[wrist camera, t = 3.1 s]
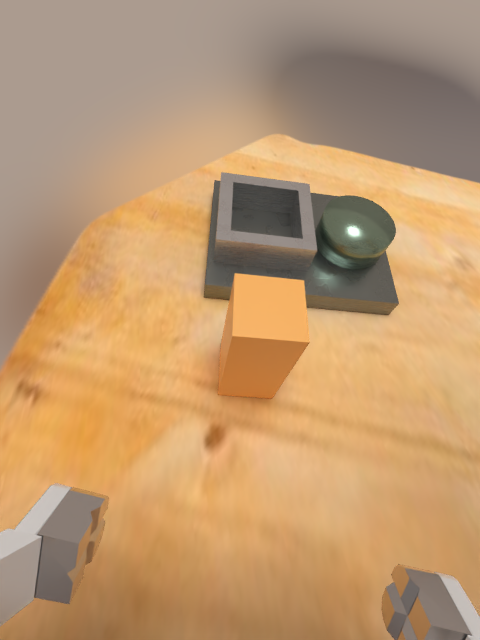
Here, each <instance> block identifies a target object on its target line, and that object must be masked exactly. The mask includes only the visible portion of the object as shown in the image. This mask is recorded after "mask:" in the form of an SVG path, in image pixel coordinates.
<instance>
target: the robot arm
mask: <svg viewBox="0 0 480 640" xmlns="http://www.w3.org/2000/svg"><path fill="white" fill-rule="evenodd" d="M108 502H109V497H108V496H105V495H101V494H97V493H94V492H90V491H86V490H82V489H78V488H75V487H73V488H72V487H69V486H65V485H61V484H58V483H55V484H53V485H51V486H50V487H49V488H48V489H47V491H46V492H45V493H44V494H43V495H42V497H41V498H40V499H39V500H38V501H37V503H36V504H35V505H34V506H33V507H32V509H31V510H30V511H29V512H28V513H27V515H26V516H25V517H24V518H23V519H22V521H21V522H20V523H19V524H18V525H17V527H16V528H15V529H14V530H13V529H6V530H4V531H2V532H0V626H1V625H3V624H4V623H5V622H6V621H8V620H9V619H10V618H12V617H13V616H14V615H15V614H17V613H18V612H19V611H20V610H22V609H23V608H24V607H25V606H27V605H28V604H29V603H31V602H32V601H33V600H34V598H40V599H45V600H50V601H55V602H60V603H65V604H70V602H71V600H72V598H73V596H74V594H75V593H76V591H77V589H78V587H79V585H80V583H81V581H82V579H83V575H84V569H85V565H87V564H88V563H90V562H91V561H92V559H93V557H94V555H95V553H96V551H97V548H98V546H99V543H100V541H101V538H102V534H103V530H104V526H105V521H104V519H103V516H104V514H105V512H106V510H107V509H108ZM391 575H392V578H393V581H394V582H393V583H392V584H390V585H389V586H387V587H386V588H385V591H384V594H383V597H382V614H383V620H384V623H385V626H386V629H387V631H388V632H389V633H390V634H391V636H392V637H393V638H394V639H395V640H480V617H479V615H478V613H477V612H476V610H475V608H474V607H473V605H472V603H471V602H470V600H469V598H468V597H467V595H466V593H465V592H464V590H463V588H462V587H461V585H460V583H459V582H458V580H457V579H455V578H454V577H453V576H451V575H446V574H442V573H437V572H431V571H427V570H423V569H418V568H414V567H409V566H405V565H400V564H398V565H397V566H396V567H394V570H393V572H392V574H391Z"/></svg>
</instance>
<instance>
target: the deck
mask: <svg viewBox="0 0 480 640" xmlns="http://www.w3.org/2000/svg"><path fill="white" fill-rule="evenodd" d="M395 233H396V228H395V224H394V221H393V220H392V218H391V216H390V215H389V214H388V213H387V212H386V211H385V210H384V209H383V208H382V207H381V206H379V205H378V204H376V203H374V202H373V201H370V200H368V199H365V198H362V197H358V196H340V197H339V196H331V195H323V194H316V193H310V186H309V184H305V183H297V182H290V181H282V180H275V179H267V178H260V177H252V176H245V175H237V174H230V173H222V172H221V181H216V180H215V182H214V193H213V203H212V214H211V225H210V236H209V247H208V258H207V268H206V279H205V291H204V297H206V298H216V299H227V300H230V295H231V290H232V285H233V279H234V274H235V273H238V274H248V275H257V276H267V277H277V278H287V279H296V280H304V286H305V297H306V307H311V308H321V309H332V310H342V311H353V312H363V313H374V314H384V315H389V314H390V313H391V312H392V310H393V309H394V308H395V307H396V306H397V305H398V304H399V302H398V298H397V294H396V290H395V286H394V282H393V278H392V274H391V270H390V266H389V262H388V258H387V255H386V251H385V250H386V249H387V247H388V246H389V245H390V243H391V242H392V240H393V239H394V237H395Z"/></svg>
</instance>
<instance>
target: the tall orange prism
mask: <svg viewBox="0 0 480 640" xmlns="http://www.w3.org/2000/svg"><path fill="white" fill-rule="evenodd" d="M309 343H310V341H309V330H308V319H307V308H306V297H305V286H304V280H296V279H287V278H277V277H267V276H257V275H248V274H238V273H235V274H234V279H233V285H232V290H231V295H230V300H229V305H228V310H227V315H226V321H225V326H224V331H223V336H222V341H221V348H220V366H219V383H218V395H225V396H240V397H255V398H271V399H272V398H273V397H274V395H275V394H276V392H277V391H278V389H279V388H280V386H281V385H282V383H283V382H284V380H285V379H286V377H287V376H288V374H289V373H290V371H291V370H292V368H293V367H294V365H295V364H296V362H297V361H298V359H299V358H300V356H301V355H302V353H303V352H304V350H305V349H306V347H307V346H308V344H309Z"/></svg>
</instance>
